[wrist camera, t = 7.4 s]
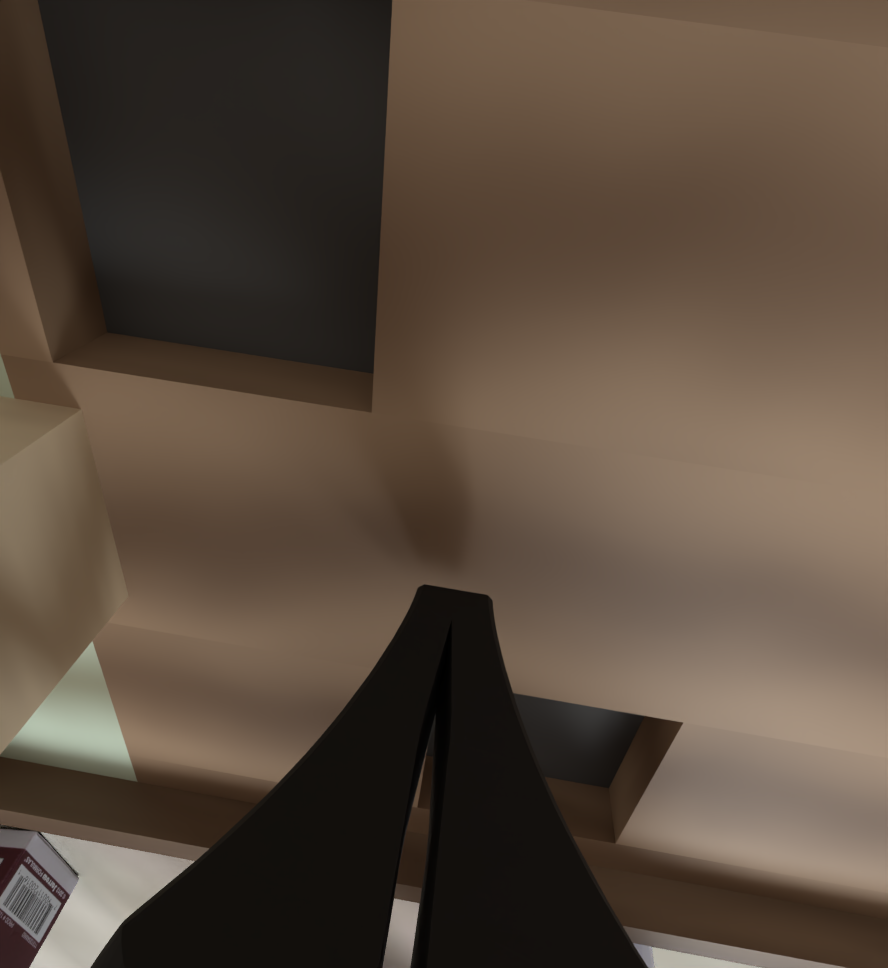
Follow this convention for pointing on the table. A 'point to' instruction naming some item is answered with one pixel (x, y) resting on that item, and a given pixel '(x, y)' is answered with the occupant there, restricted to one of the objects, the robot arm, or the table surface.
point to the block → (49, 554)
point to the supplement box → (29, 894)
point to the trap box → (477, 417)
